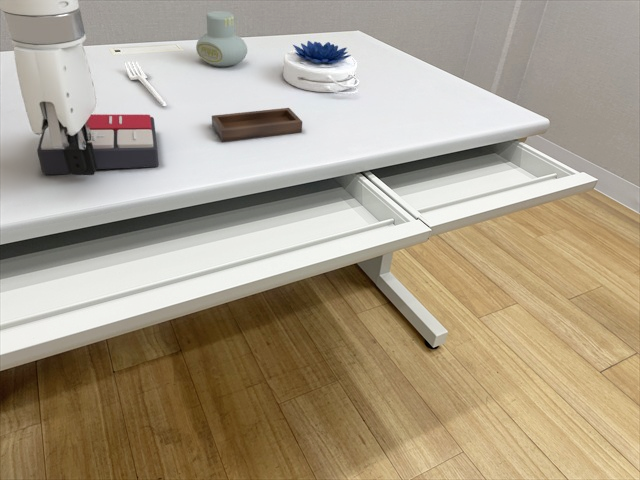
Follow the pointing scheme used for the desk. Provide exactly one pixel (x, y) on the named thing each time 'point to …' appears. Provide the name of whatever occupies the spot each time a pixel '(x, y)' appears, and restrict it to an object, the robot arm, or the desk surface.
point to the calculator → (109, 144)
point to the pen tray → (256, 124)
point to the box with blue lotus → (320, 68)
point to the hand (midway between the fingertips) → (84, 171)
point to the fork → (143, 81)
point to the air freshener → (221, 41)
